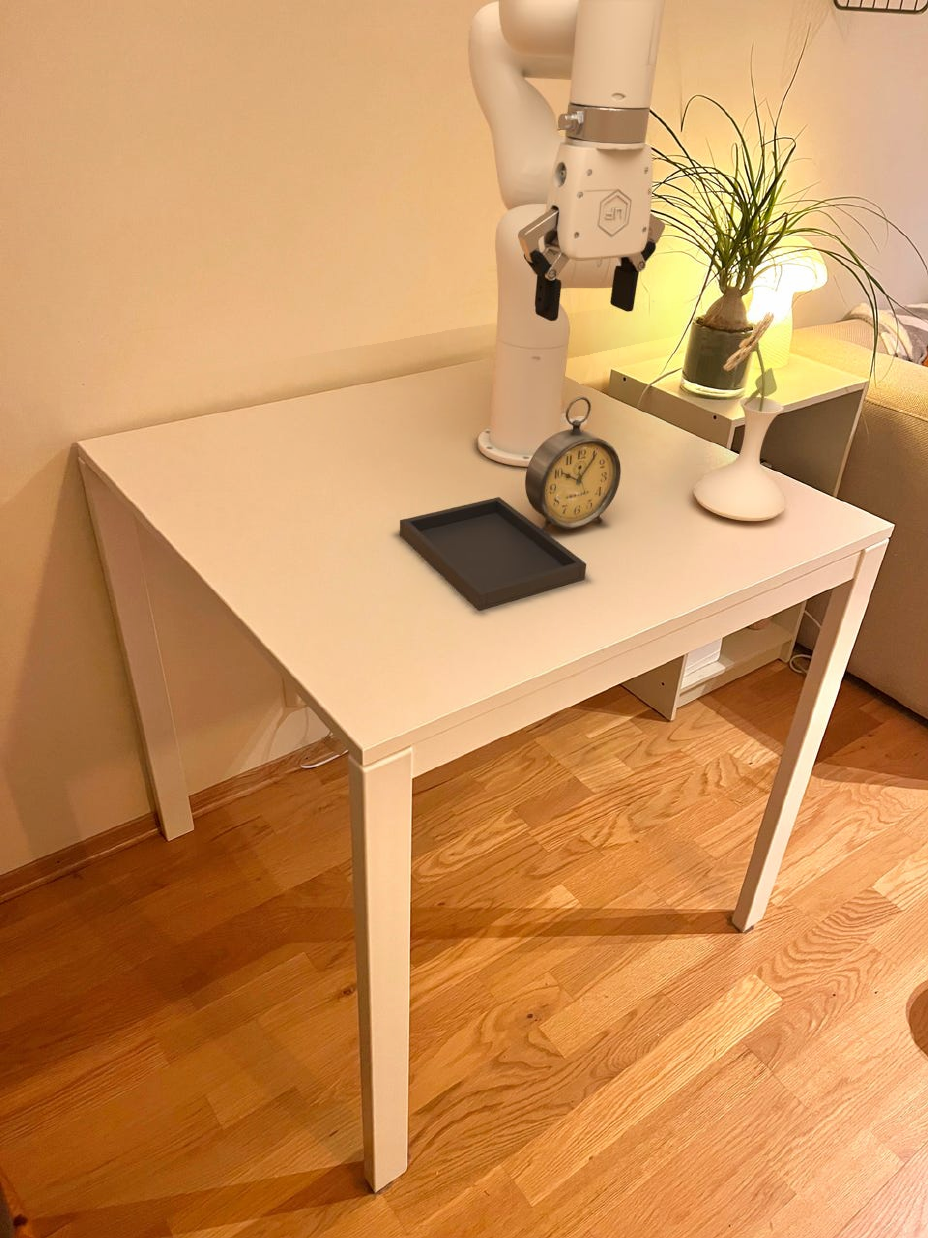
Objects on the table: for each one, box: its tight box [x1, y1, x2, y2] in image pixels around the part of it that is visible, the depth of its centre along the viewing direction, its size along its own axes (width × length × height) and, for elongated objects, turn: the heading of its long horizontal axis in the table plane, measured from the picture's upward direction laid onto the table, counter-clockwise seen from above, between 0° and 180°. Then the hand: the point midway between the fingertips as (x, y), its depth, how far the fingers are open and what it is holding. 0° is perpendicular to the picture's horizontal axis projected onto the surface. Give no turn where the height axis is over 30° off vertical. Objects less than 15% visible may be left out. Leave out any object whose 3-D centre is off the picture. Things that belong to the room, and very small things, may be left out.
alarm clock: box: [524, 396, 622, 533], centre depth 105 cm, size 11×5×16 cm, turn 117°
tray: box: [399, 496, 587, 611], centre depth 102 cm, size 14×18×2 cm
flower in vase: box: [693, 311, 787, 522], centre depth 108 cm, size 13×11×25 cm
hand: (584, 312), depth 95 cm, fingers open, 9 cm apart
